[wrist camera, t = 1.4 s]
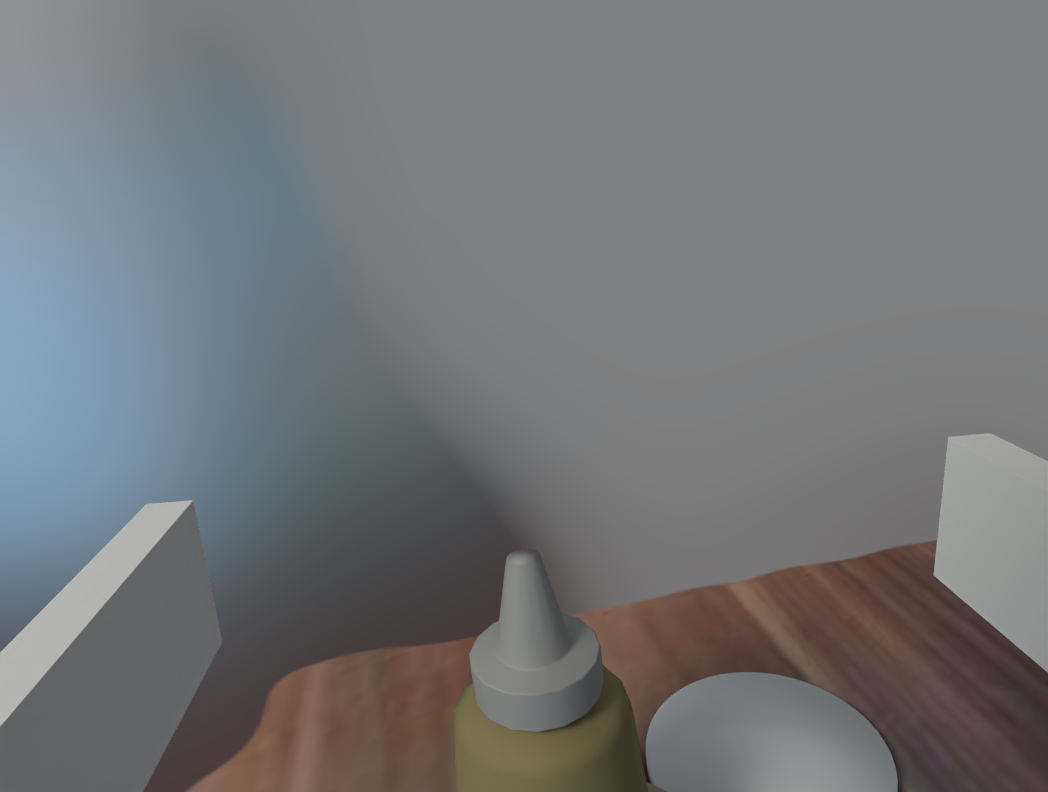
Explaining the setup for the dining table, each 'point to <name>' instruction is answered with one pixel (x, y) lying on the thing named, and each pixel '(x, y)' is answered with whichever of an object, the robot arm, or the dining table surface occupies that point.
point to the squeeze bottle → (543, 700)
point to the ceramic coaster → (764, 739)
